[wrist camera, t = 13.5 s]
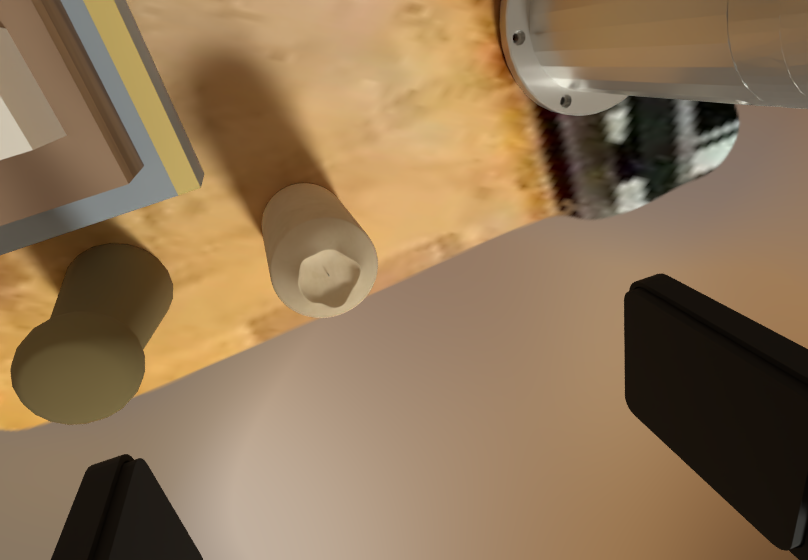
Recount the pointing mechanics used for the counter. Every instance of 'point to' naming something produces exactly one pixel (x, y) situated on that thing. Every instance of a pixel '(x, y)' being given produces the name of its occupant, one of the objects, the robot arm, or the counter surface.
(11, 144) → the white cube
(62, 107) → the brown wooden bar
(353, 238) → the candle
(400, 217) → the counter surface
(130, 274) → the olive pepper mill
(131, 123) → the block
